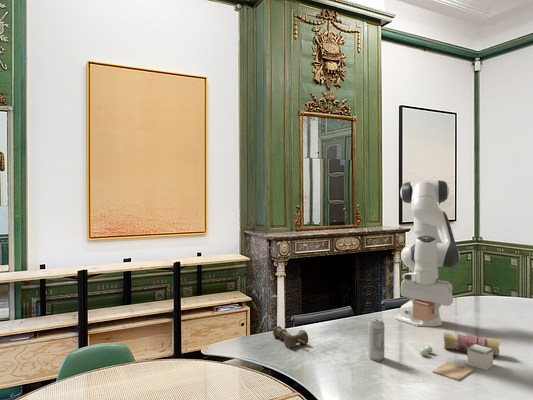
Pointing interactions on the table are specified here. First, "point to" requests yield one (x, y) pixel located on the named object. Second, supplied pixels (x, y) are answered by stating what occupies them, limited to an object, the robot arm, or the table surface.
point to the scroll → (469, 342)
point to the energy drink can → (376, 339)
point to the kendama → (290, 337)
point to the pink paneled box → (423, 310)
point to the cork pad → (453, 371)
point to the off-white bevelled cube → (480, 356)
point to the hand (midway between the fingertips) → (425, 311)
